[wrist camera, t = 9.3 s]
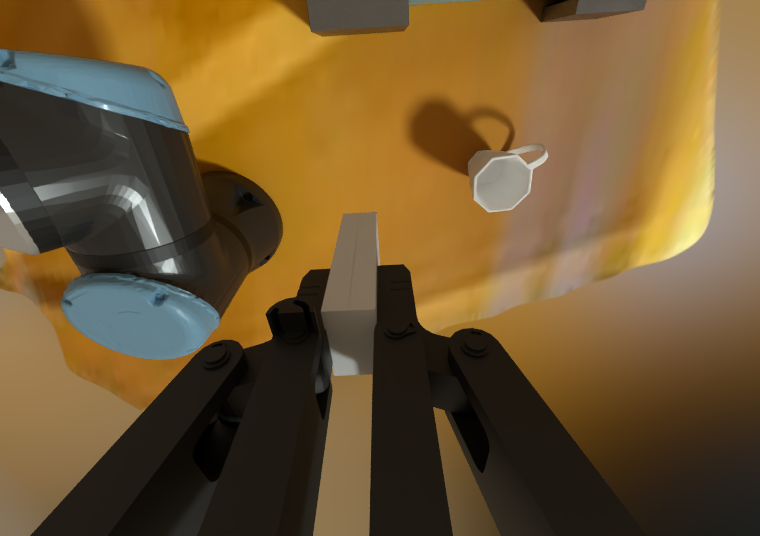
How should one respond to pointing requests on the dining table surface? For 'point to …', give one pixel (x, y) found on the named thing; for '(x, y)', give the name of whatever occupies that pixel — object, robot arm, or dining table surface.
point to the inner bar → (434, 1)
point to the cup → (502, 176)
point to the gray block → (357, 16)
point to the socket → (590, 9)
